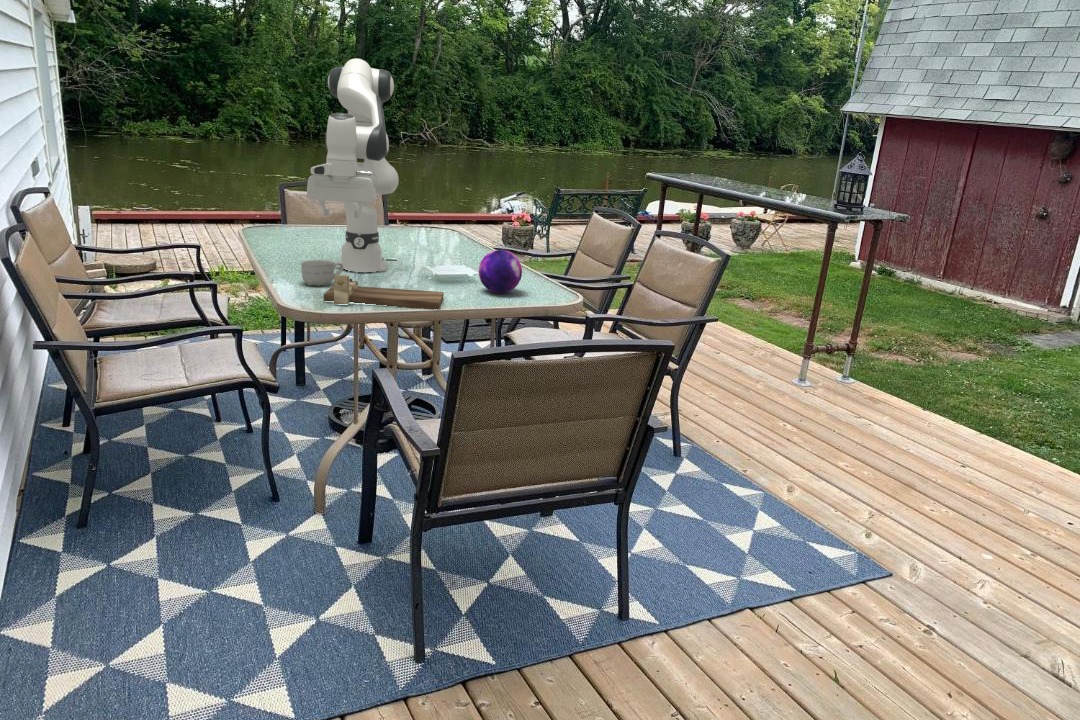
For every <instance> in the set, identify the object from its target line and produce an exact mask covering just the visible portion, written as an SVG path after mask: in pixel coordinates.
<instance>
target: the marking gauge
mask: <svg viewBox="0 0 1080 720" xmlns="http://www.w3.org/2000/svg"><path fill="white" fill-rule="evenodd" d="M358 282H359V281H357V280H353V278H350V275H348V274H339V275H335V276H334V279H333V285H334V303H333V305H334V304H348V303H349V296H350V295H351V294H352V293H353V292H354V291H355V290H356V288H357V287H358V285H359V283H358Z"/></svg>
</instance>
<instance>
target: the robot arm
mask: <svg viewBox="0 0 1080 720" xmlns="http://www.w3.org/2000/svg"><path fill="white" fill-rule="evenodd" d="M327 87H328V90H329V92H330V94H331V95H332V96H333V97H334V98H337V99H338V102H339V103H340V105H341V106H342V107H343V108H344V109H346V111H347V113H346V112H336V113H335V112H334V113H330V114H329V116H328V119H327V128H326V131H325V134H324V140H325V141H324V144H325V145H324V146H325V149H326V150H327V153H326V154H327V155H326V163H321V164H318V165H315V166H312V167H310V171H309V172H310V174H311V175H310V176H309V177H308V180H307V185H306V197H307V198H308V199H309V200H315V201H316V200H318V204H319V207H320V208H321V209H322V216H329V215H330V209H328V208H327V207H326V206H325V204H326V201H331V202H332V201H333V202H342V203H343V206H344V209H345V214H346V215H345V217H346V231H345V236H344V237H345V243H344V244H342V246H341V250H340V251H341V252H340V263H342V264H343V269H345V270H350V271H357V272H356V273H358V272H372V273H377V272H376V271H379V272H388V271H387V270H388V264H387V263H388V262H387V260H385V258H384V257H383V256H382V255H383V253H382V252H383V249H382V247H381V246H380V244H379V243H380V239H379V238H380V234H379V231H378V226H379V225H378V220H379V219H378V217H379V216H378V211H377V209H376V208H375V207H374V206H373V205H371V204H373V203H375V201H376V198H377V195H379V196H380V195H388V194H389V195H390V194H392V193H394V192H395V191H396V189H398V186H399V174H398V172H397V170H396V169H395V167H393V166H392V165H391V164H390V163H389V161H388V160H387V159H386V158H385V157H387V155H388V152H389V148H390V143H389V142H390V141H389V137H388V134H387V133H388V132H387V131H386V123H385V115H384V114H385V113H384V109H383V105H384V103H386V102H388V101H389V100H390V99H391V98H392V95H393V93H394V90H395V83H394V79H393V76H392V74H391V72H390V71H388V70H386V69H382V68H380V69H378V68H373V67H371V66H370V65H369V62H367V61H366V60H363V59H362V58H352V59H348V60H347V61H346V63H344V65H343V66H342V65H341V66H335V67H332V68H331V70H330V71H329V74H328V77H327ZM358 159H361V160H362V159H363V160H364V161H363V162H359V161H358ZM337 267H339V268H338V269H340V265H336V268H337ZM345 270H344V271H345ZM350 271H349V272H350Z"/></svg>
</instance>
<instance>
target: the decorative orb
mask: <svg viewBox="0 0 1080 720" xmlns="http://www.w3.org/2000/svg"><path fill="white" fill-rule="evenodd" d="M522 268H523V267H522V264H521V262H520V259H519V258H518V256H516V255H515V254H514V253H513V252H511V251H509V250H506V249H495V250H492V251H489V252H488V253H487V254H486V255H484V257H483V258H482V259H481V261H480V262H479V266H478V277H479V280H480V282H481V284H482V285H483V287H484V288H486V290H488V291H490V292H493V293H496V294H505V293H509V292H510V291H512V290H514V289H515V288H516V287H517V286H518V285H519V284H520V281H521V280H522V276H523V275H522V274H523V269H522Z"/></svg>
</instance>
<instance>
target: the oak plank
mask: <svg viewBox="0 0 1080 720" xmlns="http://www.w3.org/2000/svg"><path fill="white" fill-rule="evenodd" d="M444 295H445V293H444V291H433V290H421V289H420V290H419V289H405V288H404V289H403V288H389V287H373V286H358V287H357V288H356V290H355V291H354V292H353V293H352V294H351V295H350V296H349V302H354V303H365V304H376V305H387V306H397V307H396V308H403V307H405V308H406V307H407V308H406V309H418V308H419V309H420V308H421V309H422V308H423V310H434V309H437V310H438V309H439V310H440V308H441V306H442V304H443V302H444V299H445V298H444V297H445V296H444ZM324 301H334V284H333V285H332V286H331V287H330V288H329V289H328V290H327V291H325V293H324V294H323V302H324ZM387 306H386V307H387ZM421 309H420V310H421ZM439 310H438V311H439Z"/></svg>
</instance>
